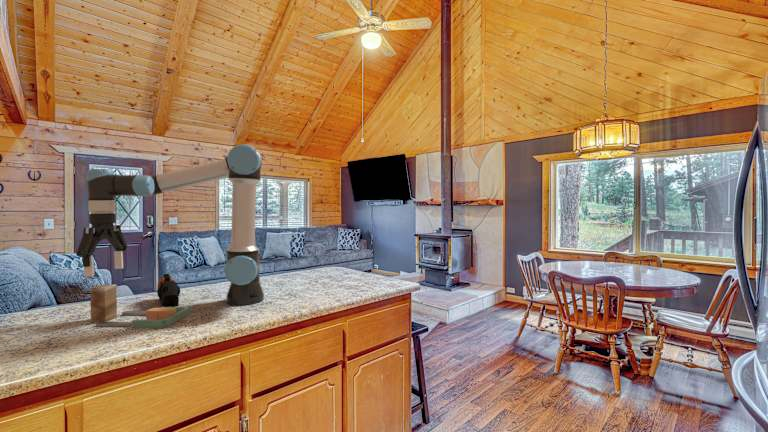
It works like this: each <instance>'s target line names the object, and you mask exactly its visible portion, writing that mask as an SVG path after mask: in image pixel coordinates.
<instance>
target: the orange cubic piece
mask: <svg viewBox="0 0 768 432" xmlns="http://www.w3.org/2000/svg"><path fill="white" fill-rule="evenodd" d="M161 309H163V308H160V307H151V308H150V309H147V310H145V311H146V315H145V316H146V317H145V320H158V311H159V310H161Z"/></svg>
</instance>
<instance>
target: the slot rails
mask: <svg viewBox="0 0 768 432" xmlns="http://www.w3.org/2000/svg"><path fill="white" fill-rule="evenodd" d="M146 311H147V310H126V311H123V312H121V316H146ZM95 327H112V328H113V327H114V328H117V327H118V328H119V327H123V328H126V327H127V328H128V327H132V321H107V322H95Z"/></svg>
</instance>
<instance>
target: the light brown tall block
mask: <svg viewBox="0 0 768 432" xmlns="http://www.w3.org/2000/svg"><path fill="white" fill-rule="evenodd" d="M117 289H118V284H117V283H116V284H114V283H113V284H112V283H111V284H110V283H109V284H108V283H107V284H106V283H102V284H98V285H95V286H91V287H89V294H90V301H89V302H90V322H91V323H98V322H111V321H112V320H115V319H116V318H117V317H118V310H117V309H118V305H117V303H118V302H117V301H118V298H117V296H118V295H117Z"/></svg>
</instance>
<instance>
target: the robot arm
mask: <svg viewBox="0 0 768 432" xmlns="http://www.w3.org/2000/svg"><path fill="white" fill-rule="evenodd" d="M262 163H263V162H262V157H261V155H260V152H259V151H258V149H257V148H256V147H254V146H252V145H249V144H243V143H241V144H237V145H235V146H233V147H232V148H231V149H230V150H229V152H228V153H227V156H224V158H223V159H222V160H218V161H212V162H209V163H204V164H200V165H199V164H198V165H194V166H192V167H187V168H185V167H184V168H182V169H181V168H180V169H176V170H172V171H169V172H167V171H166V172H164V173H163V172H162V173H158V174H155V175H154V174H153V175H146V174H145V175H144V174H132V175H131V174H129V175H127V174H123V175H122V174H121V175H120V174H115V171H114V170H113V169H109V168H108V169H107V168H90V169H88V171H87V174H86V177H87V178H86V179H87V180H86V184H87V185H86V186H87V201H88V203H87V204H88V213H89V214H88V223H89V224H90V225H91V227H83V234H82V237H81V240H80V241H79V246H78V248H77V251H76V254H75V255H76V257H78V258H82V266H83V274H84V277H94V276H95V268H94V267H95V266H94V263H95V262H94V261H95V260H94V256H93V254H94V251H95V249H97V246H98V245H99V242H101V241H102V240H107V241H108V242H109V243H110V244H111V246H112V247H113V249H114V250H115V251H113V258H114V260H113V261H114V269H115V270H118V269H119V270H120V269H124V252H125V251H127V249H128V248H129V247H128V244H127V242H126V240H125V237H124V234H123V232H122V228H121V225H120V224H116V223H117V217H116V213H115V212H116V211H117V209H116V196H117V197H120V196H121V197H122V196H123V197H145V198H151V197H154V196H156V195H160V194H164V193H169V192H173V191H177V190H182V189H186V188H189V187H195V186H199V185H203V184H208V183H211V182H216V181H220V180H224V179H228V180H229V181H230V183H232V191H231V192H232V198H231V199H232V201H231V235H230V236H231V237H230V238H231V239H230V241H231V242H230V243H231V244H230V246H229V247H228V248H227V249H226V264H225V266H224V274H225V277H226V279H227V280H228V281H229V282H230V284H229V287H228V290H227V294H226V296H225V297H226V298H225V299H226V302H225V303H226V304H229V305H234V306H242V305H243V306H246V305H253V304H256V303H260V302H262V301H264V300H265V296H264V295H265V293H264V290H263V287H262V284H261V282H260V281H261V280H260V255H261V253H260V249H259V248H258V247H257V246H256V244H255V243H256V239H255V236H256V207H257V206H256V203H257V202H256V201H257V194H256V193H257V184H259V183H260V182H261V172H262V171H261V170H262V165H263V164H262Z"/></svg>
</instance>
